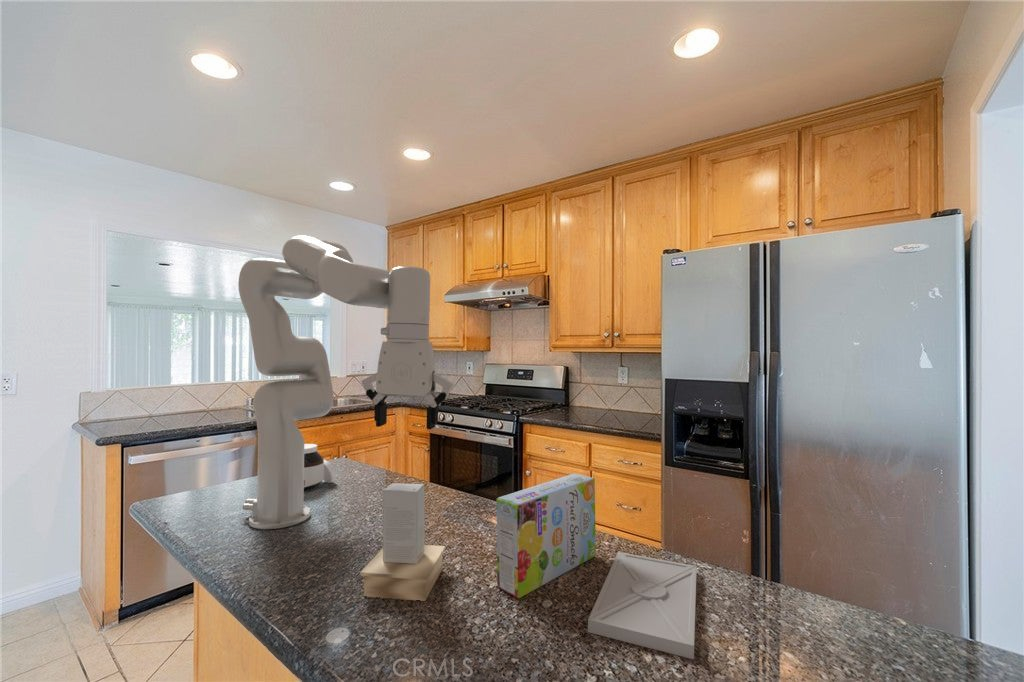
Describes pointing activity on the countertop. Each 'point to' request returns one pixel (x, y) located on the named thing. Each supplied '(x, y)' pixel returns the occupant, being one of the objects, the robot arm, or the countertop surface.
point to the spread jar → (316, 468)
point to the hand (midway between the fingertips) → (405, 426)
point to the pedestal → (403, 576)
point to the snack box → (544, 532)
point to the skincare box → (403, 523)
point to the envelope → (648, 604)
